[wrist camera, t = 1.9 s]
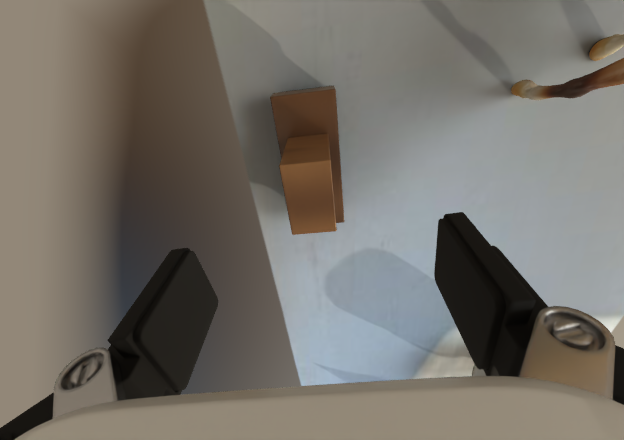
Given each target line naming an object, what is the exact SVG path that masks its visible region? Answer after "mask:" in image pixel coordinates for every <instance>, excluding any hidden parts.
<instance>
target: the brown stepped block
mask: <svg viewBox="0 0 624 440" xmlns="http://www.w3.org/2000/svg"><path fill="white" fill-rule="evenodd" d="M270 99H271V104H272V110H273V115H274V121H275V126H276V132H277V137H278V143H279V148H280V153H281V162H280V165H279V167H280V173H281V178H282V183H283V188H284V194H285V199H286V204H287V209H288V215H289V220H290V225H291V230H292V234H293V235H295V234H307V233H319V232H331V231H336V230H337V229H336V223H340V222H344V210H343V195H342V180H341V165H340V150H339V135H338V120H337V106H336V91H335V87H334V86H326V87H318V88H310V89H302V90H294V91H286V92H278V93H273V94H272V96H271V97H270Z"/></svg>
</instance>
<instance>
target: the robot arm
mask: <svg viewBox="0 0 624 440" xmlns="http://www.w3.org/2000/svg"><path fill="white" fill-rule="evenodd" d="M435 281H436V284H437V286H438V288H439V290H440V292H441V294H442V296H443V299H444V301H445V303H446V305H447V307H448V309H449V311H450V313H451V315H452V317H453V319H454V322H455V324H456V326H457V328H458V330H459V332H460V334H461V336H462V338H463V340H464V343H465V345H466V347H467V349H468V351H469V353H470V355H471V357H472V359H473V361H474V363H475V365H476V367H477V368H478V369H479V370H481V369H483V370H484V372H485V374H486V376H468V377H446V378H424V379H406V380H390V381H374V382H358V383H342V384H327V385H312V386H297V387H284V388H283V387H282V388H270V389H254V390H239V391H225V392H212V393H199V394H185V395H180V394H181V392H182V390H184V389H185V388H186V387H187V385H188V382H189V379H190V377H191V374H192V372H193V369H194V366H195V364H196V361H197V359H198V356H199V353H200V351H201V348H202V345H203V343H204V340H205V338H206V335H207V332H208V330H209V327H210V324H211V322H212V319H213V317H214V314H215V311H216V309H217V306H218V299H217V296H216V294H215V292H214V290H213V288H212V286H211V284H210V282H209V280H208V278H207V276H206V274H205V272H204V270H203V268H202V266H201V264H200V262H199V260H198V258H197V256H196V254H195V253H194V252H193V251H190V249H188V248H182V249H175V250H171V252H170V253H169V254H168V255H167V257H166V258H165V260H164V261H163V263H162V264H161V265H160V267H159V268H158V270H157V271H156V272H155V274H154V275H153V277H152V278H151V280H150V281H149V282H148V284H147V285H146V287H145V288H144V290H143V291H142V292H141V294H140V295H139V297H138V298H137V299H136V301H135V302H134V304H133V305H132V306H131V308H130V309H129V311H128V312H127V314H126V315H125V317H124V318H123V319H122V321H121V322H120V324H119V325H118V326H117V328H116V329H115V331H114V332H113V333H112V335H111V336H110V338H109V339H108V341H109V343H110V344H111V346H110V347H109V349H108V350H107V349H105V348H95V349H91V350H89V351H87V352H85V353H83V354H81V355H80V356H78V357H77V358H75V359H74V360H73V361H71V362H70V363H69V364H68V365H67V366H66V367H65V368H64V370H63V371H62V372H61V373H60V374H59V376H58V378H57V380H56V382H55V386H54V393H52V394H51V395H49V396H48V397H46V398H45V399H43V400H42V401H40V402H39V403H37V404H36V405H34V406H33V407H31V408H30V409H28V410H27V411H25V412H24V413H22V414H21V415H19V416H18V417H16V418H15V419H13V420H12V421H10V422H9V423H7V424H6V425H4V426H3V427H1V428H0V440H624V349H623V348H621V347H618V346H616V345H615V341H614V337H613V336H612V334H611V333H610V331H609V330H608V329H607V328H606V327H605V326H604V325H603V324H602V323H601V322H600V321H598V320H596V319H595V318H593V317H592V316H590V315H588V314H586V313H584V312H581V311H579V310H576V309H572V308H568V307H561V306H553V307H548V306H547V305H546V304H545V303H544V301H543V300H542V299H541V298H540V297H539V296H538V294H537V293H536V292H535V291H534V290H533V288H532V287H531V286H530V285H529V284H528V283H527V281H526V280H525V279H524V278H523V277H522V276H521V274H520V273H519V272H518V271H517V270H516V269H515V267H514V266H513V265H512V264H511V263H510V262H509V260H508V259H507V258H506V257H505V256H504V255H503V253H502V252H501V251H500V250H499V249H498V248H497V247H495V246H491V245H490V244H489V243H488V242H487V240H486V239H485V238H484V237H483V236H482V234H481V233H480V232H479V231H478V230H477V228H476V227H475V226H474V225H473V224H472V222H471V221H470V220H469V219H468V218H467V216H466V215H465V214H464V213H463V212H459V213H452V214H445V215H444V218H443V219H440V220H439V222H438V235H437V248H436V261H435Z"/></svg>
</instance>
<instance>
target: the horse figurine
mask: <svg viewBox="0 0 624 440" xmlns="http://www.w3.org/2000/svg"><path fill="white" fill-rule="evenodd" d="M623 46H624V35H619V34H617V35H613V36H611V37H608V38H604V39H602V40H600V41H598V42H597V43H596V44H595V45H594V46H593V47H592V49H591V50H590V53H589V56H590V59H592V60H593V61H597V60H600V59H603V58H604V57H606V56H608V55H610V54H613V53H614V52H616V51H617V50H619V49H620V48H621V47H623ZM620 84H624V58H623V59H621V60H618V61H616V62H614V63H612V64H610V65H608V66H606V67H604V68H602V69H599V70H597V71H595V72H593V73H591V74H588V75H585V76H583V77H580V78H577V79H573V80H570V81H568V82H566V83H564V84H561V85H552V86H539V85H538V86H537V85H536V84H535V83H534V82H533V81H531V80H522V81H520V82H518V83H516V84H515V85H513V87H512V89H511V91H512V94H514V95H516V96H519V97H522V98H529V99H531V100H542V99H547V98H552V97H564V98H576V97H581V96H583V95H584V94H586V93H588V92H590V91H592V90H595V89H598V88H604V87H609V86H614V85H620Z"/></svg>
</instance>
